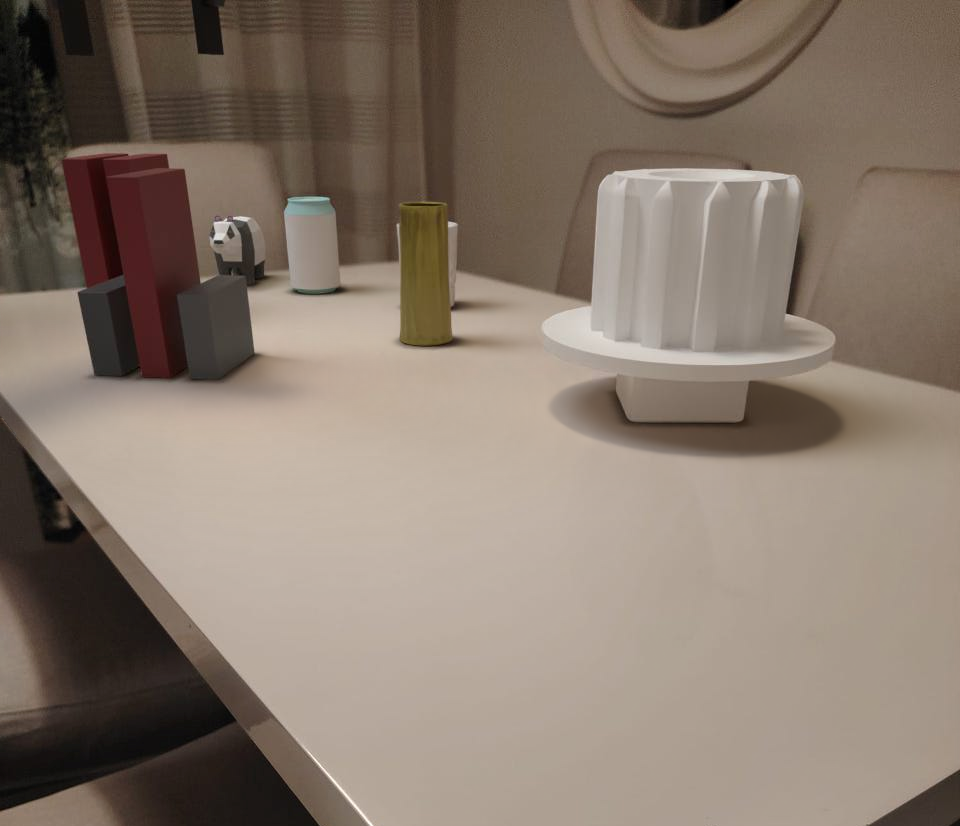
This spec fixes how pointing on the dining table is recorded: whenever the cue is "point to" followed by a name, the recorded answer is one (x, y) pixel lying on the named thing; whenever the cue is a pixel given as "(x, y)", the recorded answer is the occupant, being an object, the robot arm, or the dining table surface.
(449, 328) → the vase
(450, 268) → the white cup
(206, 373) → the grey bookends
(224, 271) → the giant panda
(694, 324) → the flanged gear
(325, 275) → the can
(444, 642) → the dining table surface
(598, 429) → the dining table surface
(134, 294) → the burgundy book
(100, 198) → the burgundy books
